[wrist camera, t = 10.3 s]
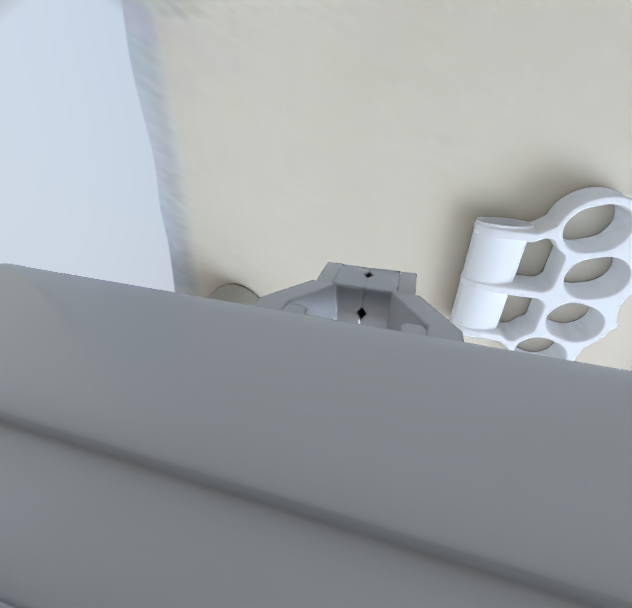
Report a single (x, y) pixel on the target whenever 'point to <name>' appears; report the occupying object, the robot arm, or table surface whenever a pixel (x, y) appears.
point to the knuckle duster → (546, 276)
